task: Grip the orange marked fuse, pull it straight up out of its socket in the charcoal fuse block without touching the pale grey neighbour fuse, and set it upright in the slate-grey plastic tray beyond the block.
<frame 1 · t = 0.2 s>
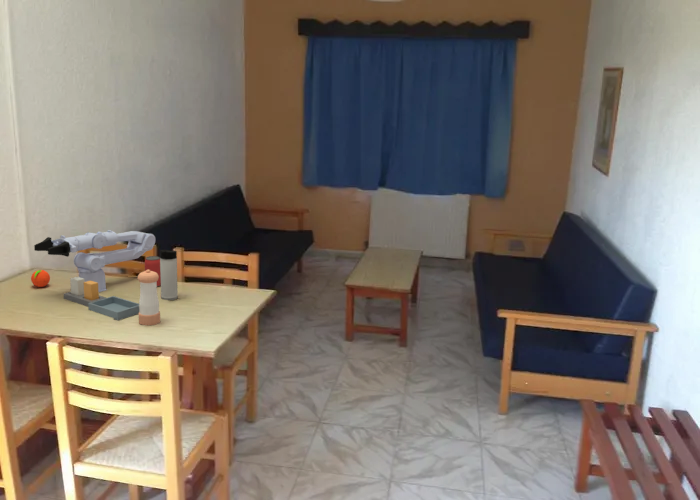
hand: (41, 249, 228), 21 cm above the table, tool horizontal, fingers open, 7 cm apart
beer can: (153, 285, 262), on the table
neighbour fuse: (78, 298, 240), resting on fuse block
travel mug: (169, 299, 246), on the table
parts tray: (115, 311, 229), on the table
pepper shaker: (149, 322, 221), on the table
clementine: (40, 287, 253), on the table
fuse block: (85, 301, 238), on the table
marked fuse: (91, 302, 236), resting on fuse block
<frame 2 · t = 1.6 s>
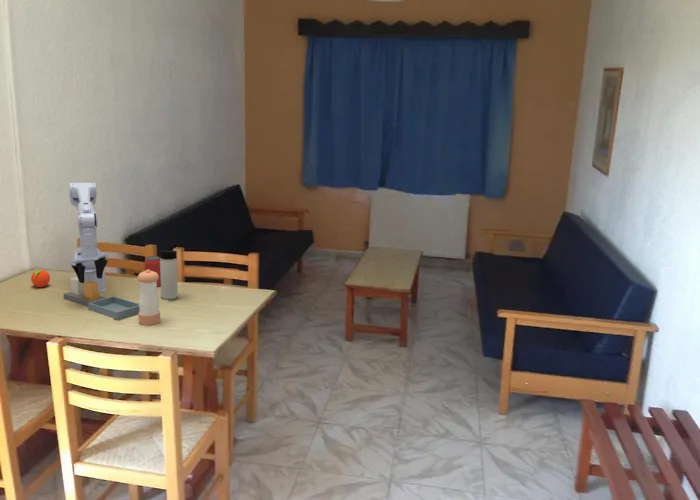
hand: (90, 280, 234), 9 cm above the table, tool pointing down, fingers open, 7 cm apart
nothing on the table moved.
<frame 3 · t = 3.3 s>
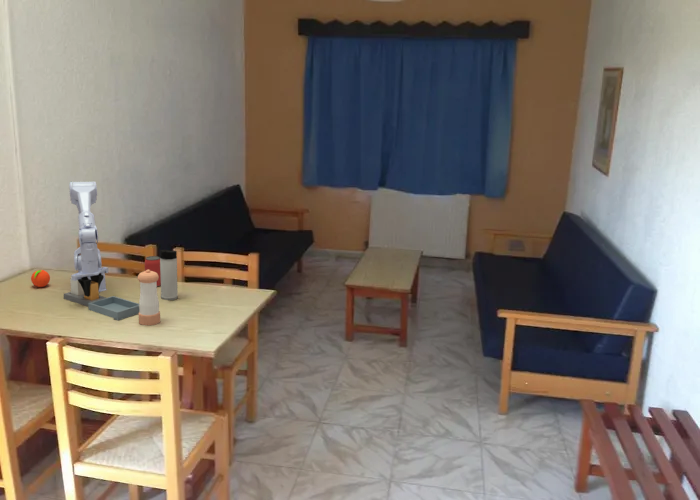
hand: (91, 294, 235), 4 cm above the table, tool pointing down, fingers closed on marked fuse, 3 cm apart
marked fuse: (91, 302, 236), resting on fuse block, touching gripper
everything else where it was.
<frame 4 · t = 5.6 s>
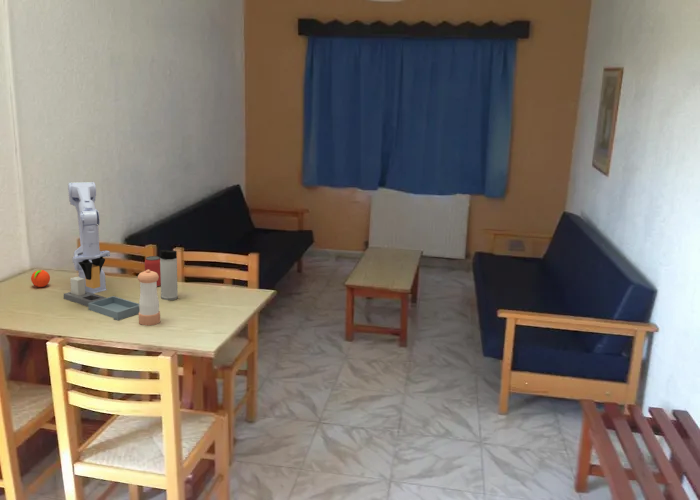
hand: (92, 278, 233), 10 cm above the table, tool pointing down, fingers closed on marked fuse, 3 cm apart
marked fuse: (93, 286, 234), point 7 cm above the table, touching gripper
everything else where it was.
when the fingers open (5 cm above the table, at t = 8.0 s): marked fuse stays where it is, resting on parts tray.
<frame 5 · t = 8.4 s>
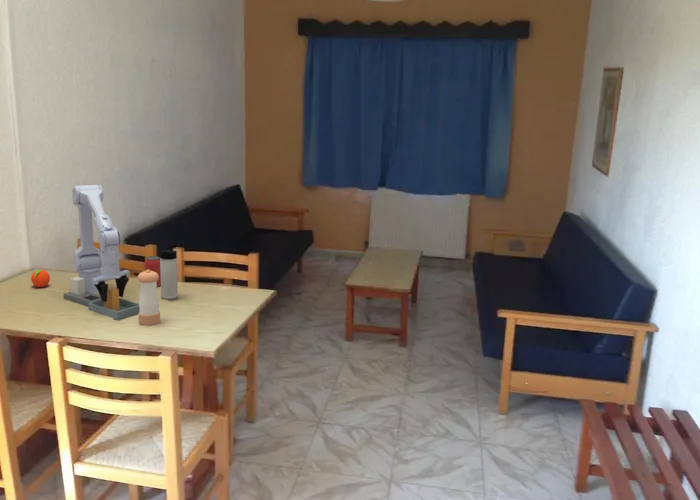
hand: (112, 298, 229), 5 cm above the table, tool pointing down, fingers open, 6 cm apart
marked fuse: (112, 309, 230), point 1 cm above the table, touching parts tray
everything else where it was.
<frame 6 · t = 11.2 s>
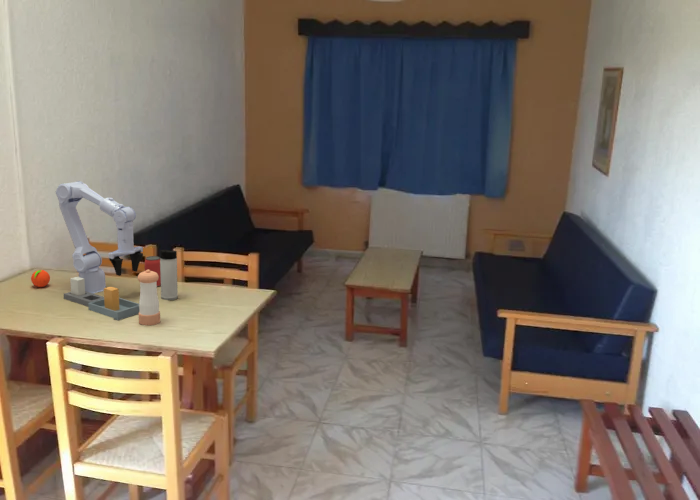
hand: (126, 273, 242), 10 cm above the table, tool pointing down, fingers open, 7 cm apart
nothing on the table moved.
at the end: marked fuse inside the target area on the parts tray (1.9 cm from its centre), point 0.5 cm above the parts tray's base; the gripper is holding nothing; neighbour fuse moved 0.0 cm from its start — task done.
